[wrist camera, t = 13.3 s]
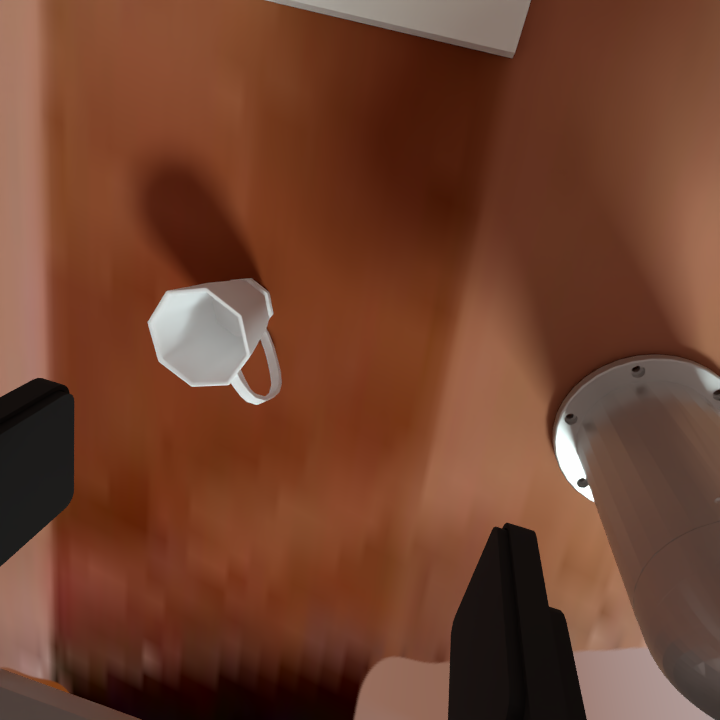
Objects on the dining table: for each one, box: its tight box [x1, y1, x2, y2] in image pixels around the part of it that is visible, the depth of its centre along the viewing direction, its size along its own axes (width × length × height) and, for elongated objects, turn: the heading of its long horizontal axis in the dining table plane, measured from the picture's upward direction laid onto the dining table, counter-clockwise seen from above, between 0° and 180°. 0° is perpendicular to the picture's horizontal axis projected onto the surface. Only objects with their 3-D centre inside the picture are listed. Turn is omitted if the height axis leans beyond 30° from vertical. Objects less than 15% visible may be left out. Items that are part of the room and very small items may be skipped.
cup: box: [148, 278, 282, 405], centre depth 37 cm, size 7×10×8 cm
